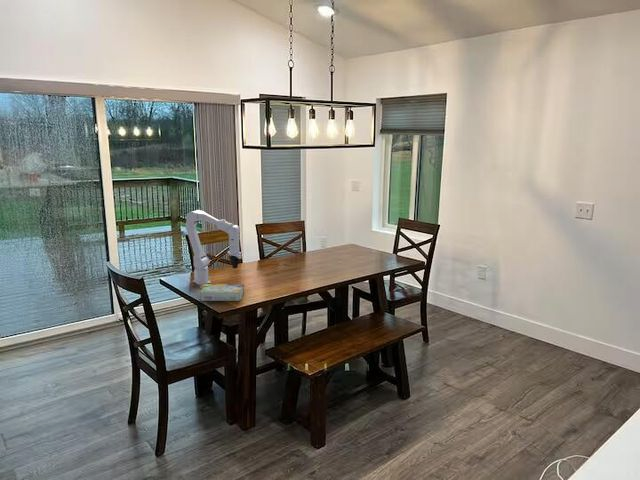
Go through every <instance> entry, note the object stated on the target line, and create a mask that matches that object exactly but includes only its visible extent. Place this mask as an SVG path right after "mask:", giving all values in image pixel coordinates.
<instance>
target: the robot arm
mask: <svg viewBox="0 0 640 480" xmlns="http://www.w3.org/2000/svg"><path fill="white" fill-rule="evenodd" d="M185 219H186V220H185V224H184V225H185V230H186V233H187V236H188V238H189V242H190V245H191V248H192V253H193V257H192V259H193V267H194V269H193V278H194V279H193V280H192V282H193V283H195V284H196V285H199V286H201V285H203V284H212V282H211V281H210V280H209V264H210V257H208V256H207V253H205V252H204V250H203V247H202V243H201V239H200V237H199V234H198V231H197V228H196V226H197V225H198V223H199V222H200V221H205V222H208V223H210V224H213V225H215V226H216V227H217V229H219V230H221V231H223V232H225V233H226V234H227V235H228V244H229V245H228V246H229V248H228V250H227V255H230V256H228V258H229V260H230V263H231V266H232V267H231V268H232V269H233V270H234V269H235V270H236V269H238V266H239V262H240V260H241V259H242V258H243V255H242V252H241V251H240V234H239V233H240V232H241V227H240V226H239V225H237V224H233V223H232V222H231V223H230V222H229V221H226V219H217V218H215V216H212V215H210V214H209V213H206V212H205V211H204V210H201V209H196V210H193V211H189V212H188V213H187V214H186V216H185Z"/></svg>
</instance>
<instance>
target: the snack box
mask: <svg viewBox="0 0 640 480" xmlns="http://www.w3.org/2000/svg"><path fill="white" fill-rule="evenodd" d="M244 289H245V288H244V283H207V284H206V285H205V286H204V288H203V289H201V290H200V291H199V294H200V301H201V302H208V301H209V302H218V301H219V302H221V301H224V302H227V301H228V302H235V301H236V302H240V301H241V300H242V298H243V295H244V293H245V290H244Z"/></svg>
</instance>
